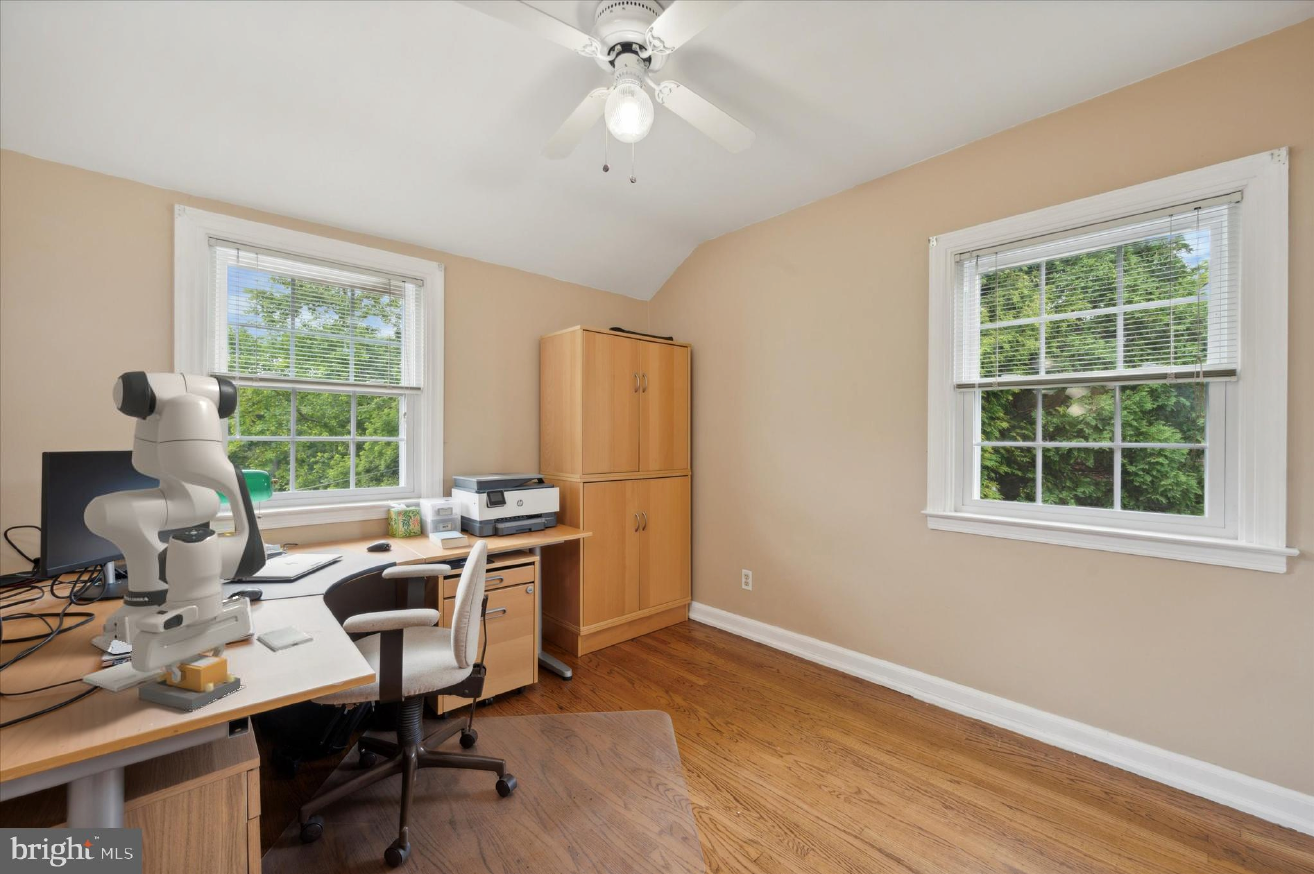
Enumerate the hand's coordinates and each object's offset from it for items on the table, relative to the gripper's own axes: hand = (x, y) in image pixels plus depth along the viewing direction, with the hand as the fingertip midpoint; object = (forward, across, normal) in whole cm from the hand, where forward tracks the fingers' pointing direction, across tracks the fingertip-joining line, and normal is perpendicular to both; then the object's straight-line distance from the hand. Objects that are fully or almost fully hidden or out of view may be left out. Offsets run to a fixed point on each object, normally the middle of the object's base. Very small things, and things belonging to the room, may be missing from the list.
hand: (196, 673), depth 111 cm
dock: (+4, 0, 0) cm, 4 cm away
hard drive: (+4, -25, -7) cm, 27 cm away
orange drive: (+2, 0, 0) cm, 2 cm away
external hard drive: (+4, +1, -22) cm, 22 cm away
